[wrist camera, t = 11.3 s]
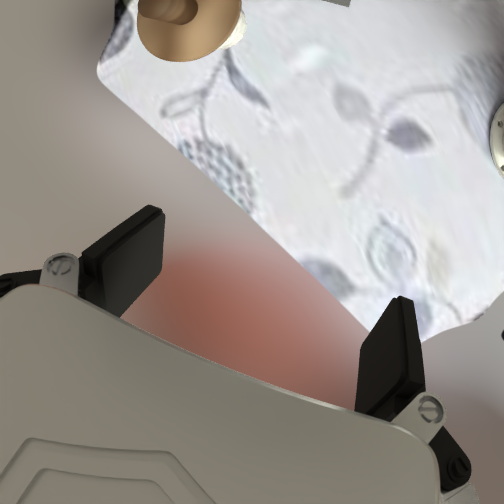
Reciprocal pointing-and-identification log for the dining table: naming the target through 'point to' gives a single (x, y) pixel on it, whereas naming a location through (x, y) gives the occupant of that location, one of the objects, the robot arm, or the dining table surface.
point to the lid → (186, 27)
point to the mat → (340, 2)
